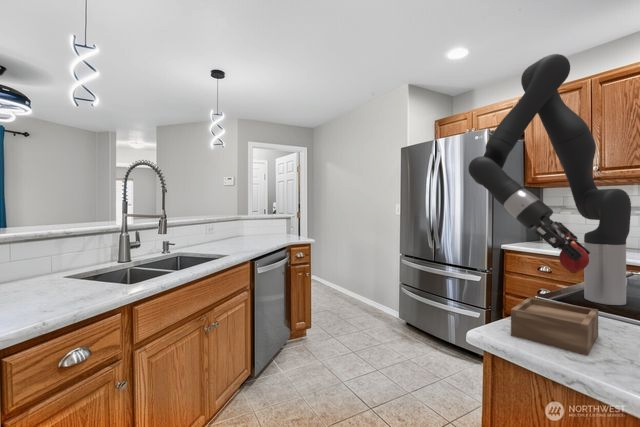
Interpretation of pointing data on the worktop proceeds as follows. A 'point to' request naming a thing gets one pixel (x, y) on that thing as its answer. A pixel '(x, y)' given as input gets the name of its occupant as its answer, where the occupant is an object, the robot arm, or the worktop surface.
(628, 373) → the worktop surface
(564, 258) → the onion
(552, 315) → the brown wooden box
